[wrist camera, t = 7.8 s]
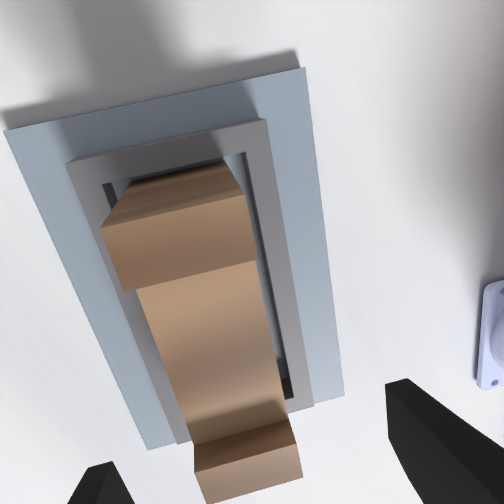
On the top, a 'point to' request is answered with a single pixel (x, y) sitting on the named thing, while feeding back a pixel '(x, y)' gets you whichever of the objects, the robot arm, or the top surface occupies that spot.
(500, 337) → the robot arm
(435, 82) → the top surface
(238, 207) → the tan notched block
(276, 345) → the jig
